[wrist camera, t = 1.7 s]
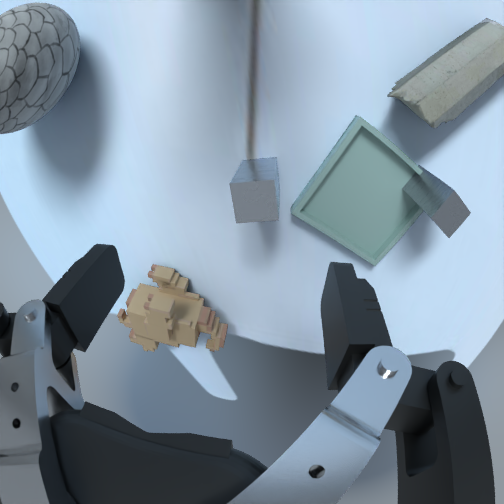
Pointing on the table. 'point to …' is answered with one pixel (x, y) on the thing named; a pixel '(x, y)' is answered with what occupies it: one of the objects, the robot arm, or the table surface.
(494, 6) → the table surface
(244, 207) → the post
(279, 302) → the table surface
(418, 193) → the post
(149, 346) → the toy
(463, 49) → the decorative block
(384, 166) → the tray
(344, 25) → the table surface
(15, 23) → the decorative sphere
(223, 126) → the table surface
